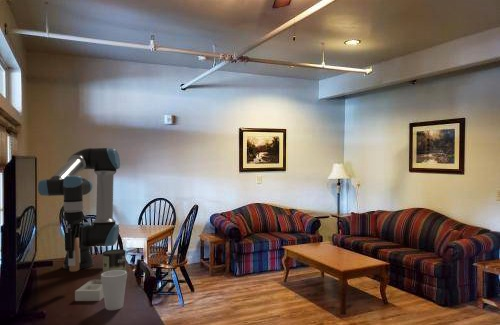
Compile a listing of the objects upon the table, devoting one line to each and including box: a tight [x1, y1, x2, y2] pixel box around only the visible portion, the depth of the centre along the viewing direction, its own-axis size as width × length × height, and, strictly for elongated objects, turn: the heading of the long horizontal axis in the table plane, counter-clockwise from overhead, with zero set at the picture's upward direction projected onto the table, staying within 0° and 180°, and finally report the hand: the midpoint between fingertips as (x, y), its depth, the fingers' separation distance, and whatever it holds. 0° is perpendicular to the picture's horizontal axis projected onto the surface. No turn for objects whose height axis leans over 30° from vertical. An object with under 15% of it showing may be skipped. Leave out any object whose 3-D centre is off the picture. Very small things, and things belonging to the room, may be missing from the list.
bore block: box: [74, 278, 104, 302], centre depth 162 cm, size 16×10×4 cm, turn 179°
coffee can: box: [102, 248, 127, 273], centre depth 180 cm, size 10×10×14 cm
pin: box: [69, 237, 81, 272], centre depth 167 cm, size 4×4×14 cm
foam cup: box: [100, 270, 128, 311], centre depth 147 cm, size 10×9×13 cm
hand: (74, 263), depth 167 cm, fingers closed on pin, 4 cm apart
